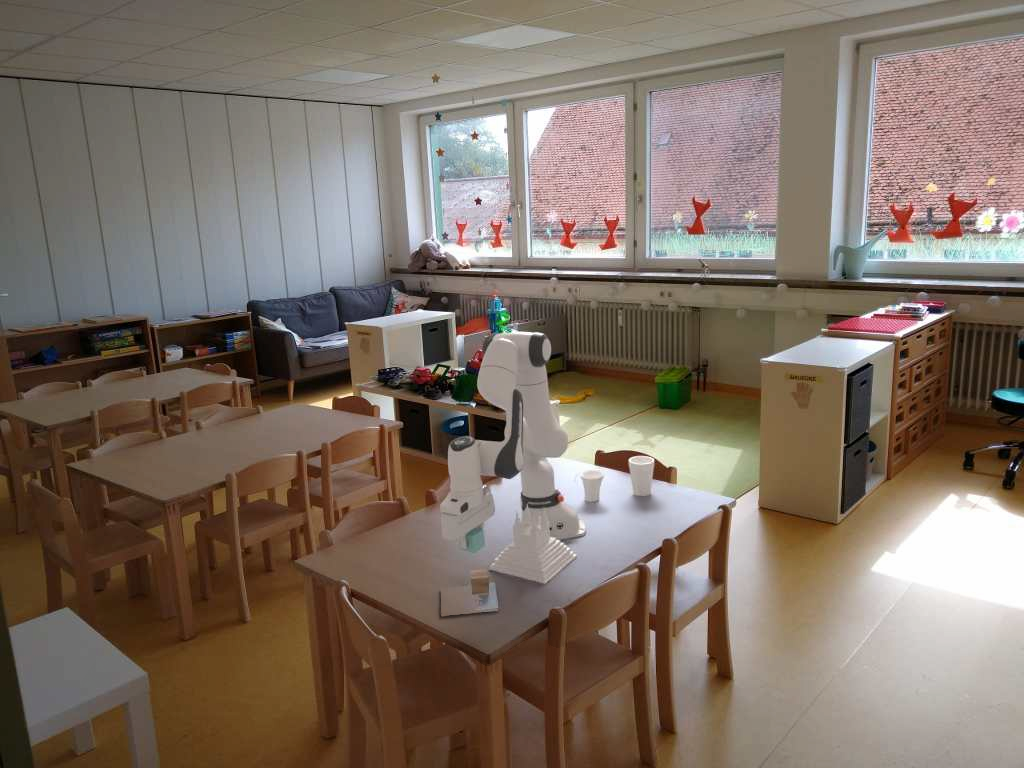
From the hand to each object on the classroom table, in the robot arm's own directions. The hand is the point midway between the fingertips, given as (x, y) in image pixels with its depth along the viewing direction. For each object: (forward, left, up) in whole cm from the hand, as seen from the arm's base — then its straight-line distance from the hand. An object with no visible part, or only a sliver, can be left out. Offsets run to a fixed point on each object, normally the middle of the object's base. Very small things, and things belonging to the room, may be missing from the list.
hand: (471, 542), depth 215 cm
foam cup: (-66, -68, -18) cm, 97 cm away
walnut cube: (-2, -4, -17) cm, 17 cm away
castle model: (-19, -20, -18) cm, 33 cm away
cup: (-47, -66, -18) cm, 83 cm away
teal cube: (0, 0, -2) cm, 2 cm away
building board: (+2, 0, -18) cm, 18 cm away
